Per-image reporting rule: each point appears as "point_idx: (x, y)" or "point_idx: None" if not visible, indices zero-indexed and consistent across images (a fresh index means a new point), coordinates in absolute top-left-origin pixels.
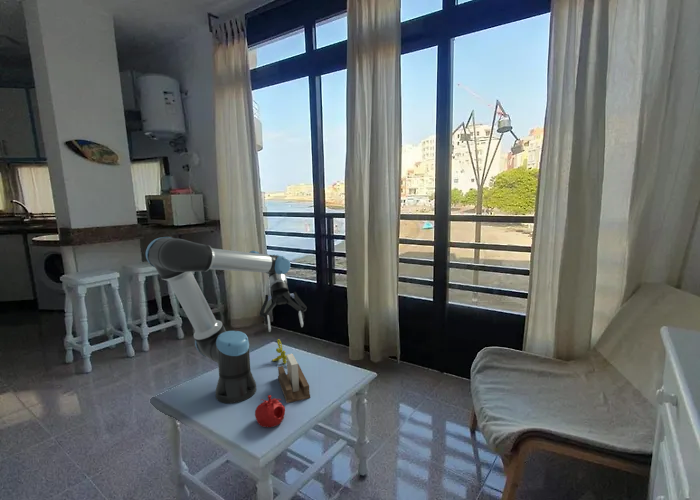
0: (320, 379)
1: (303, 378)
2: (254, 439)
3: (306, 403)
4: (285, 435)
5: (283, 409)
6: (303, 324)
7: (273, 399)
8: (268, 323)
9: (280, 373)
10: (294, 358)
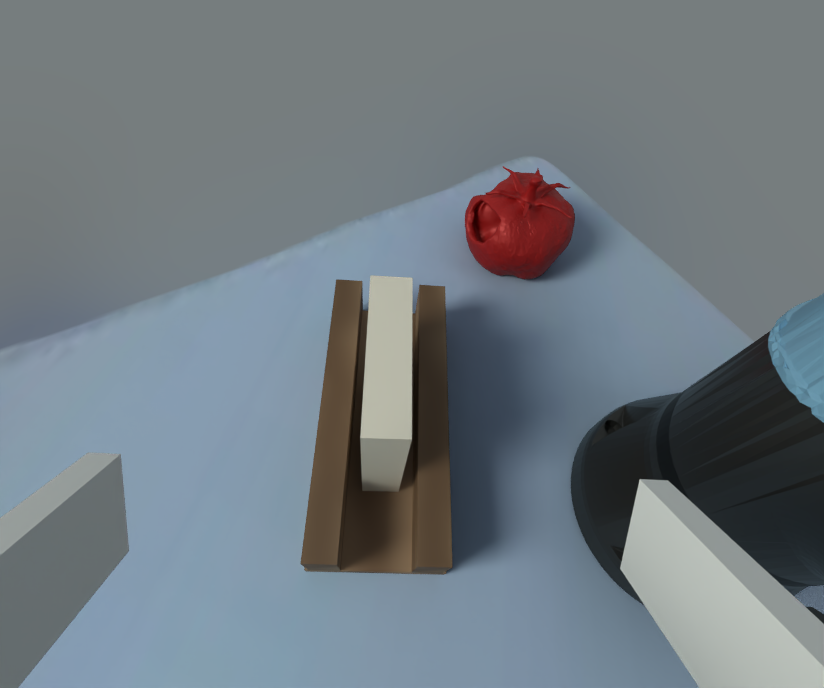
0: (219, 445)
1: (338, 348)
2: None
3: (364, 289)
4: (469, 185)
5: (474, 196)
6: (90, 459)
7: (513, 209)
8: (738, 546)
9: (449, 460)
10: (370, 350)
